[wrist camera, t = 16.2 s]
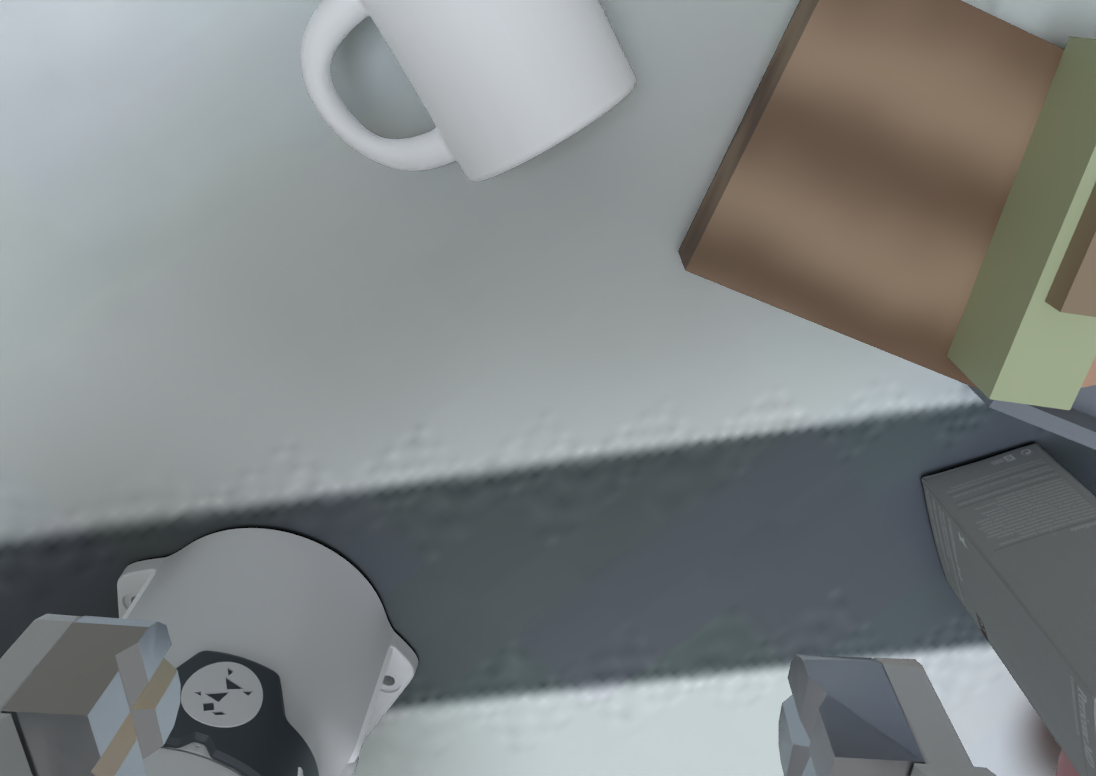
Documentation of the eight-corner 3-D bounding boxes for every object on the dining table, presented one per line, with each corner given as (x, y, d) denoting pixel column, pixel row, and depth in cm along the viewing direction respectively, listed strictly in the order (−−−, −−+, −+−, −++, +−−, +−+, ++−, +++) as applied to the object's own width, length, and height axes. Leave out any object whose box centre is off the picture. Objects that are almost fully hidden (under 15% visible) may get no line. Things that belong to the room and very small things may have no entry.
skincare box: (916, 473, 45) (1070, 697, 31) (1052, 433, 44) (1279, 648, 29) (944, 587, 48) (1095, 838, 34) (1072, 554, 47) (1284, 800, 33)
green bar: (1019, 366, 39) (1085, 423, 34) (946, 356, 39) (1002, 412, 34) (1155, 49, 33) (1261, 61, 27) (1069, 36, 32) (1160, 45, 27)
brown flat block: (960, 366, 42) (987, 392, 39) (678, 251, 40) (685, 270, 37) (1145, 100, 36) (1190, 109, 33) (825, -51, 34) (845, -55, 31)
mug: (520, -157, 33) (503, -197, 26) (633, 73, 37) (645, 95, 29) (285, 5, 36) (210, 9, 29) (410, 203, 40) (372, 251, 32)
